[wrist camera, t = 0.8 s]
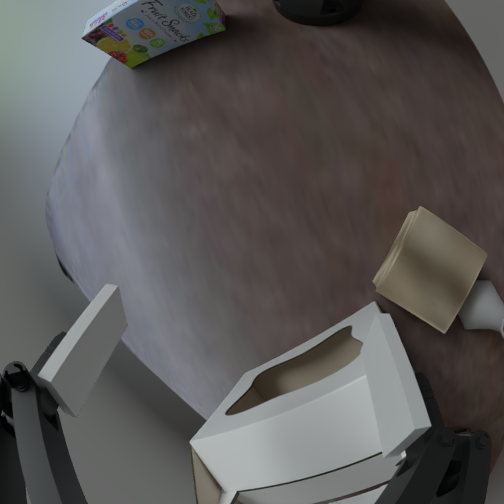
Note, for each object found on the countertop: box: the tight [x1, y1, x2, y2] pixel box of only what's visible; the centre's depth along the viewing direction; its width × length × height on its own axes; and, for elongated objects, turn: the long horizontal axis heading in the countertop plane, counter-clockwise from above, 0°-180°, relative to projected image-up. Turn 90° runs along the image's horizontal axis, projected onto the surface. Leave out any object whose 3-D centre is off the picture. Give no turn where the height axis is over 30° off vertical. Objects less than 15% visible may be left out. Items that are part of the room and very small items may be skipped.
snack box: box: [82, 0, 226, 68], centre depth 33 cm, size 21×6×15 cm, turn 95°
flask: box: [458, 280, 504, 339], centre depth 24 cm, size 7×7×10 cm
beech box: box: [373, 206, 488, 334], centre depth 28 cm, size 10×10×6 cm
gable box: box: [190, 302, 415, 504], centre depth 23 cm, size 22×13×28 cm, turn 125°
